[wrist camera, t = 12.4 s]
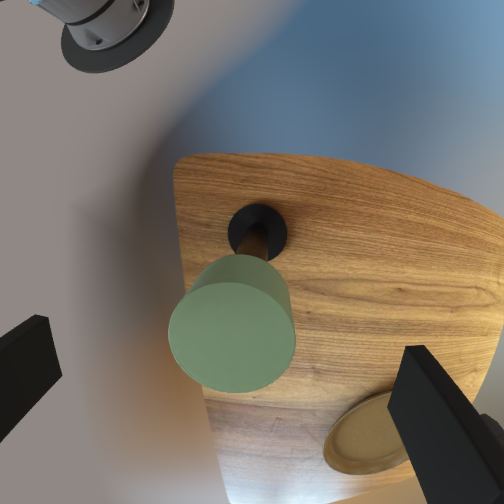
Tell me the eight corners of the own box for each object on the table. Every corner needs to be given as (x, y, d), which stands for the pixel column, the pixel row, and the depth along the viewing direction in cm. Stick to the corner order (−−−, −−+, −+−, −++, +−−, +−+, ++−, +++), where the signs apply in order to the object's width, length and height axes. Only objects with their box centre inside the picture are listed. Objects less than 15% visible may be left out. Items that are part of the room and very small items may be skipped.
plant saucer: (449, 419, 49) (455, 428, 46) (357, 477, 54) (360, 487, 51) (406, 356, 46) (413, 366, 43) (295, 430, 51) (296, 442, 47)
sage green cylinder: (174, 296, 18) (144, 334, 13) (243, 233, 17) (232, 253, 12) (239, 359, 19) (229, 410, 14) (309, 305, 18) (321, 347, 13)
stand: (216, 230, 44) (147, 294, 18) (259, 191, 42) (243, 202, 17) (255, 272, 45) (237, 381, 19) (298, 234, 43) (336, 306, 18)
